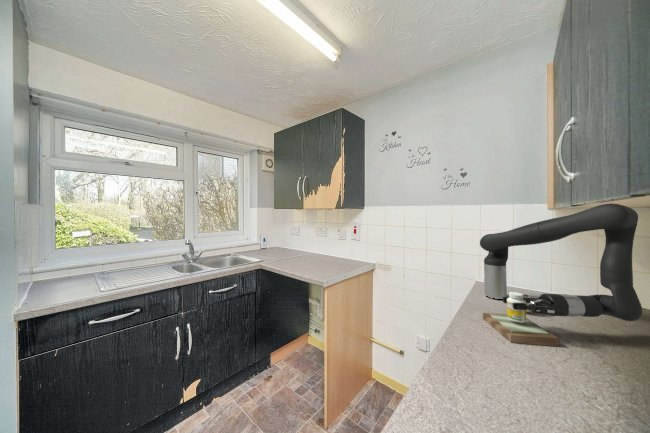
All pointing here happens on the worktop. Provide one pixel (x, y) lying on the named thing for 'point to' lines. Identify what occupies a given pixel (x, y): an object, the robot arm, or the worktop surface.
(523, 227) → the robot arm
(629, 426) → the worktop surface
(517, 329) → the brown flat wooden block
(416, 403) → the worktop surface
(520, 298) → the supplement bottle
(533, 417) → the worktop surface
